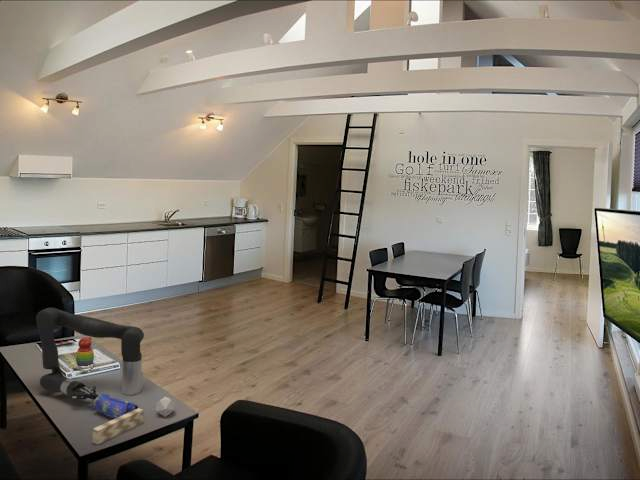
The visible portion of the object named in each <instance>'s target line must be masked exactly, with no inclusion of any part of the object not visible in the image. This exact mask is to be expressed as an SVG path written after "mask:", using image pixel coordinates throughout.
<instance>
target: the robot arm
mask: <svg viewBox="0 0 640 480" xmlns="http://www.w3.org/2000/svg"><path fill="white" fill-rule="evenodd" d="M35 321H36V325H37V330H38V334H39V338H40V344H41V345H40V346H41V352H42V353H41V355H42V358H41V359H42V368H43V369H45V370H51V373H46V374H44V375H41V377H40V378H39V385H40V387H41V388H42V389H43V390H46V391H54V392H55V391H56V392H59V393H62V394H64V395H65V396H68V397H71V398H72V400H73V401H75V400H77V401H78V400H79V401H80V400H82V401H84V400H85V401H86V399H88V400H89V399H91V400H93V401H94V400H95V399H96V398H97V397H98V396H99V394H97V386H95V385H93V387H89V386H86V384H84V383H83V382H81V381H78V380H75V379H72V378H68V377H65V376H64V375H63V372H62V368H61V366H60V361H59V360H60V359H59V350H58V346H57V343H56V340H55V337H54V326H56V327H57V326H58V327H64V328H67V329H71V330H72V331H74V332H75V333H78V334H80V335H83V336H85V337H86V336H87V337H91V338H97V339H101V338H102V339H105V338H110V339H111V338H113V339H119V340H121V341H120V343H121V347H120V350H121V353H120V354H121V357H122V360H121V361H122V364H121V365H122V367H121V370H122V371H121V372H122V374H121V376H122V377H121V378H122V379H121V393H122V394H124V395H126V396H132V395H137V394H140V393H141V391H143V389H144V388H143V385H144V383H143V382H144V381H143V379H144V372H143V371H142V361H143V360H142V359H143V358H142V357H143V356H142V355H143V354H142V352H141V343H142V341H143V340H144V338H145V333H144V331H143V330H142V329H141V328H140V327H137V326H133V325H132V326H131V325H123V324H119V323H118V324H117V323H114V322H111V321H106V320H103V319H98V318H94V317H91V316H86V315H79V314H74V313H70V312H67V311H65V310H62V309H58V308H55V307H47V308H44V309H42V310H40V311H38V313H37V314H36V316H35Z"/></svg>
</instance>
